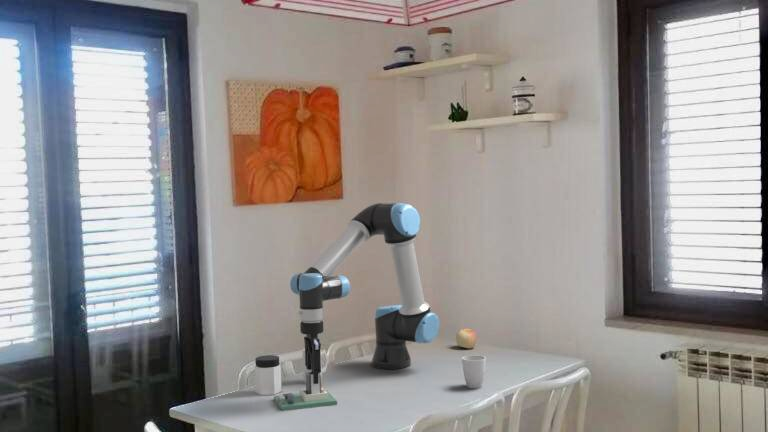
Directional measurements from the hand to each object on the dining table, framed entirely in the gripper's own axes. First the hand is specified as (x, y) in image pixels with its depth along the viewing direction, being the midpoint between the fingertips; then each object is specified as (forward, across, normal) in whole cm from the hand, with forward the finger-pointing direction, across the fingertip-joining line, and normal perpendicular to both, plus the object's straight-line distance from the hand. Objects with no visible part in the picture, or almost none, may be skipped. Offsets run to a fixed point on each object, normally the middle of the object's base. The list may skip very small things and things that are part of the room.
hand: (313, 391), depth 268 cm
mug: (+4, -25, +7) cm, 26 cm away
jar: (+4, -17, -12) cm, 21 cm away
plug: (+2, 0, 0) cm, 2 cm away
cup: (+4, +4, +56) cm, 56 cm away
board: (+3, 0, -3) cm, 4 cm away
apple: (+4, -54, +79) cm, 96 cm away
